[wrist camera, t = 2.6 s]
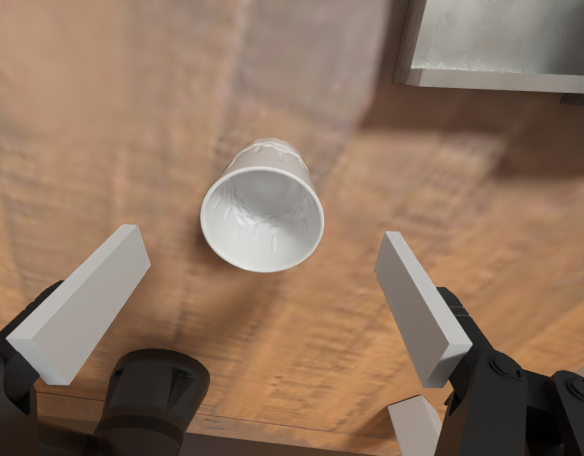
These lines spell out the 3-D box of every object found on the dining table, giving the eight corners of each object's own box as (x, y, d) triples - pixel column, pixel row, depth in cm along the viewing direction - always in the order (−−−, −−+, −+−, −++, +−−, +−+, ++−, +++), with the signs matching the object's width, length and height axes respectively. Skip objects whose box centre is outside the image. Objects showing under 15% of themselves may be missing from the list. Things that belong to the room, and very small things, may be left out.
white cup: (323, 146, 24) (344, 189, 15) (295, 217, 28) (300, 283, 19) (239, 117, 22) (210, 148, 14) (222, 196, 26) (192, 258, 18)
